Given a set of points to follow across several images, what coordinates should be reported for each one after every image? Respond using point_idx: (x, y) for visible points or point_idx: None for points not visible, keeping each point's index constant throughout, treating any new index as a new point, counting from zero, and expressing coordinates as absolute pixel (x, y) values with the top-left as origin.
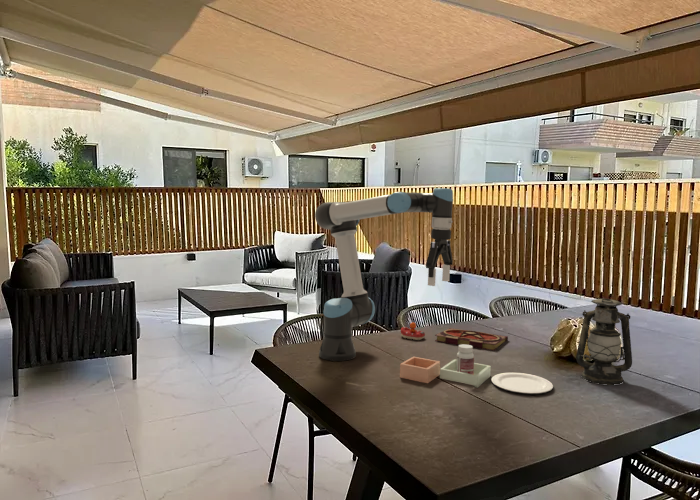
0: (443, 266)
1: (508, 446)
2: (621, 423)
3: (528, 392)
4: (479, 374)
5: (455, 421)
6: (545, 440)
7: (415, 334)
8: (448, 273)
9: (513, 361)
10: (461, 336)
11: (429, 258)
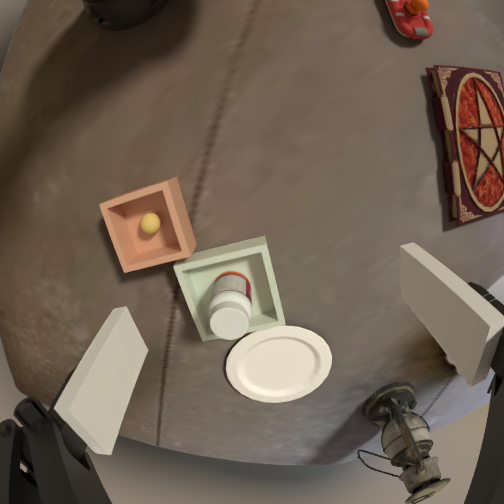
0: (477, 320)
1: None
2: (244, 454)
3: (240, 392)
4: (215, 337)
5: None
6: (139, 429)
7: (400, 22)
8: (432, 331)
9: None
10: (463, 132)
11: (4, 499)
